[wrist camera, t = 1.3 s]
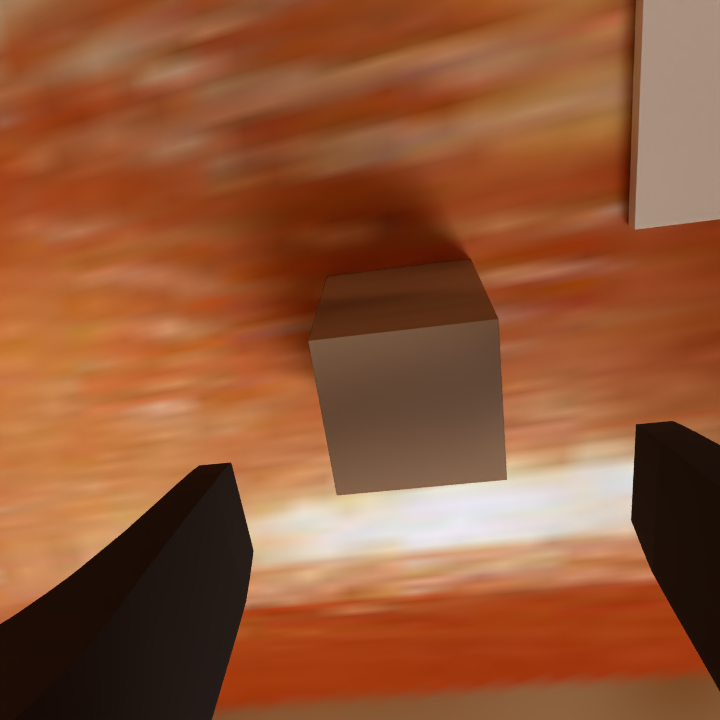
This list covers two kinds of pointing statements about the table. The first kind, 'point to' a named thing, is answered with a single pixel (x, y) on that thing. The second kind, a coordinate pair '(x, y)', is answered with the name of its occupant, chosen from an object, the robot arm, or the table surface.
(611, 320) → the table surface
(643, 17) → the white flat square plate
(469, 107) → the table surface
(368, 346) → the walnut block
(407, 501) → the table surface
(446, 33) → the table surface
